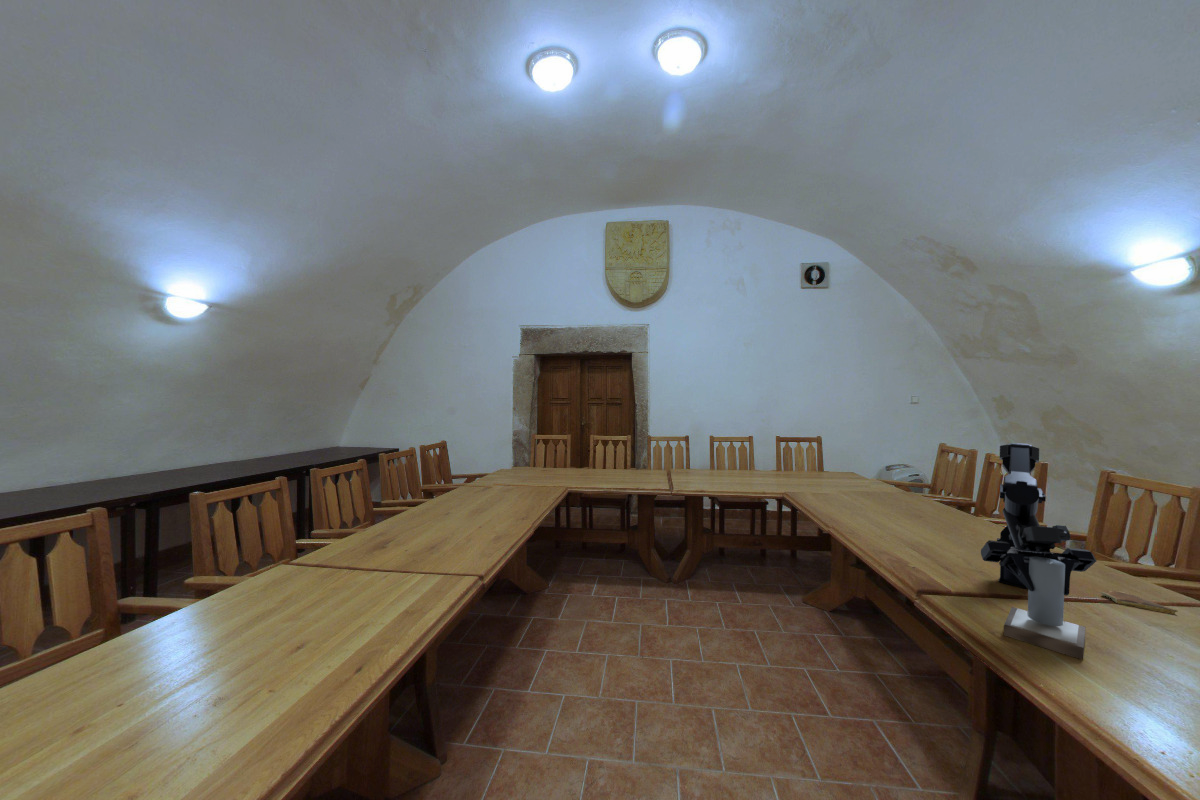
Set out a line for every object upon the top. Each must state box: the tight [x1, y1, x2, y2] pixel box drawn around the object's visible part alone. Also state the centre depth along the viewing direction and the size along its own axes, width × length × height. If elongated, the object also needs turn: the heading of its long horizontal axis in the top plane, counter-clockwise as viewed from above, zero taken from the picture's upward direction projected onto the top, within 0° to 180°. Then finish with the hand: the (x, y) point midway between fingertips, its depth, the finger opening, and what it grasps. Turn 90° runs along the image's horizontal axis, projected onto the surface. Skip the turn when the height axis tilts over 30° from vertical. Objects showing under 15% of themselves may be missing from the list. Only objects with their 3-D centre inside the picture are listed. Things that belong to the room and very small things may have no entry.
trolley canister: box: [1027, 557, 1065, 626], centre depth 99 cm, size 6×6×13 cm
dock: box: [1003, 606, 1086, 661], centre depth 99 cm, size 12×12×3 cm
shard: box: [1100, 590, 1178, 615], centre depth 114 cm, size 11×8×2 cm
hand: (1049, 592), depth 98 cm, fingers closed on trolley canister, 5 cm apart
